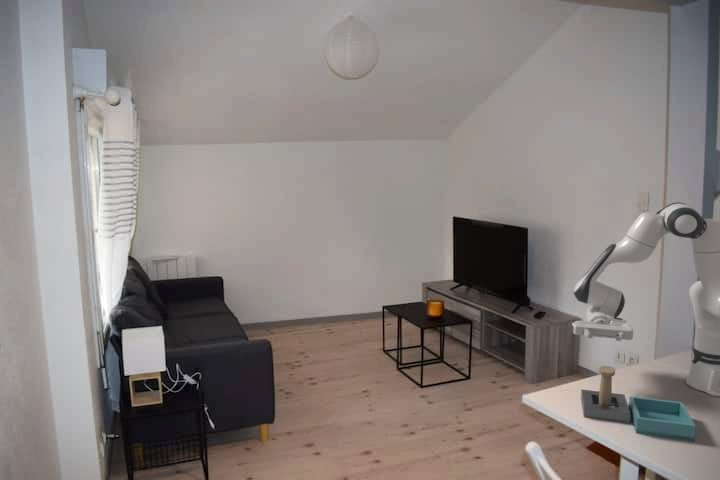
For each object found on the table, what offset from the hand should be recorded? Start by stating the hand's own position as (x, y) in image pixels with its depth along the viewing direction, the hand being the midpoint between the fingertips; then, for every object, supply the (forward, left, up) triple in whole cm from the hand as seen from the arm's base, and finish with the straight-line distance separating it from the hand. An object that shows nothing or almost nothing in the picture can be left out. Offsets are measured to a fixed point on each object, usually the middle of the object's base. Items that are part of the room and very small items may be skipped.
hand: (604, 337), depth 191 cm
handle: (0, +12, -22) cm, 25 cm away
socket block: (0, +12, -22) cm, 25 cm away
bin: (-16, +17, -22) cm, 32 cm away
